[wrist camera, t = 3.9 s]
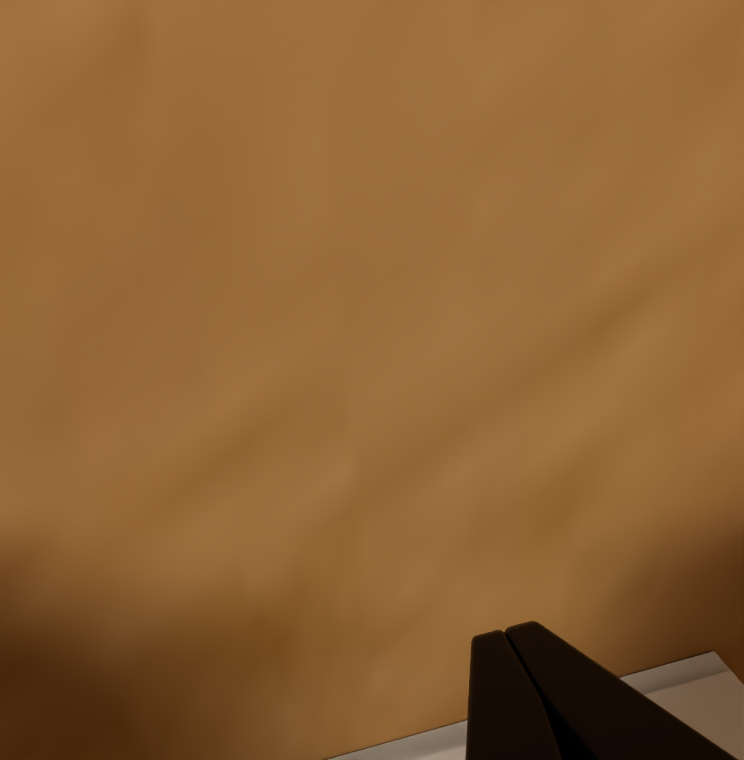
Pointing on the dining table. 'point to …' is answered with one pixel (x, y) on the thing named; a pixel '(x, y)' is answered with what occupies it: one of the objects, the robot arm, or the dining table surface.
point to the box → (660, 684)
